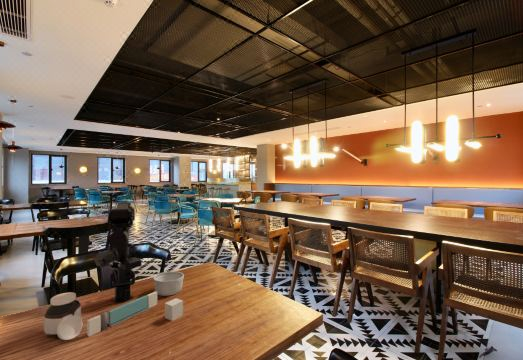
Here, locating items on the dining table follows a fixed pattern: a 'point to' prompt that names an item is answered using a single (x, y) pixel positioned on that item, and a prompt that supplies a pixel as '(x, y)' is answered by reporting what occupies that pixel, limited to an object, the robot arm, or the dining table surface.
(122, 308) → the long teal plank
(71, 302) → the spread jar
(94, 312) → the dining table surface
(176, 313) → the block
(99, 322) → the door frame
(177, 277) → the ramekin
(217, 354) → the dining table surface
